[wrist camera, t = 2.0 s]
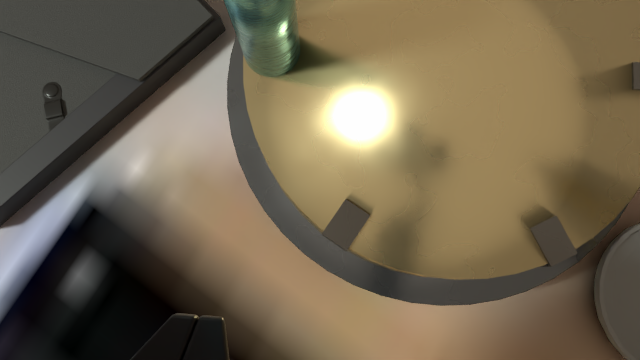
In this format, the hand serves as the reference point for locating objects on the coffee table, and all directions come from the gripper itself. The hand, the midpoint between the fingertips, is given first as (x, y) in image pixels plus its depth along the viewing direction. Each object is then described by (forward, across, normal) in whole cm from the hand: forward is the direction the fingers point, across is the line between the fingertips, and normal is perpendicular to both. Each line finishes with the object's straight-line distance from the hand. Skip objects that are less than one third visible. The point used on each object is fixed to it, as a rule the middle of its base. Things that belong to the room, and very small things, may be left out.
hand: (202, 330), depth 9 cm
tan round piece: (+14, -6, +2) cm, 15 cm away
